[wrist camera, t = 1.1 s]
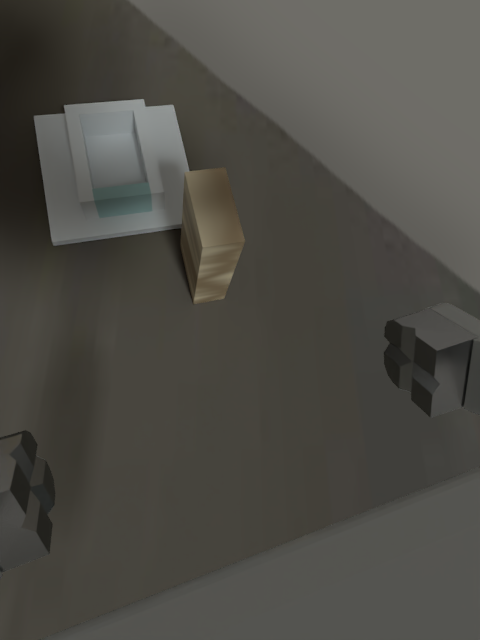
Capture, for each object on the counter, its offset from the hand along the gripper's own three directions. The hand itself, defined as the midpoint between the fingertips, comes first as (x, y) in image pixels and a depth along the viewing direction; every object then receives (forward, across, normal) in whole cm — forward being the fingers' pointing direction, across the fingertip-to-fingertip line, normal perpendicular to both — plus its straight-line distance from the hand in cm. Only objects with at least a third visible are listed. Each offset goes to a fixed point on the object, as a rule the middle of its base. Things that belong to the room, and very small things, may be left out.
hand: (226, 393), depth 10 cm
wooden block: (+31, -4, +10) cm, 33 cm away
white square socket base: (+39, +1, 0) cm, 39 cm away
